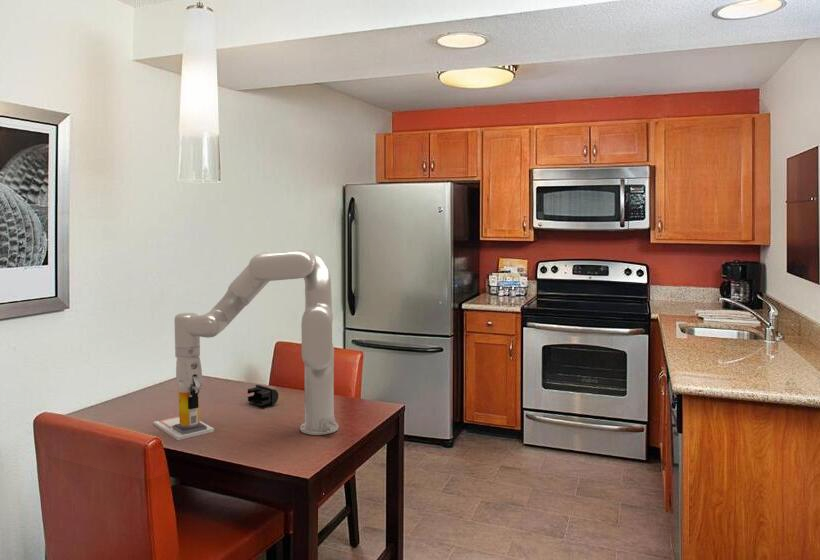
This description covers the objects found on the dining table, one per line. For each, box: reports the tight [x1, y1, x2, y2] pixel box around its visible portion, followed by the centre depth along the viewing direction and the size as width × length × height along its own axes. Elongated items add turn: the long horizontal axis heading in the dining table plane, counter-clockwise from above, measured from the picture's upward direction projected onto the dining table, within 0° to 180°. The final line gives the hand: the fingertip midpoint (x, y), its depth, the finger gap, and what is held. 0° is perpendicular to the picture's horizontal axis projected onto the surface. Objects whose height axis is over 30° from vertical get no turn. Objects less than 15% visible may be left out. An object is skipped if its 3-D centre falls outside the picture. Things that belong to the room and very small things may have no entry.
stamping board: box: [153, 416, 215, 441], centre depth 203 cm, size 20×12×2 cm, turn 43°
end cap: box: [247, 384, 279, 410], centre depth 230 cm, size 10×7×7 cm
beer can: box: [177, 381, 200, 427], centre depth 199 cm, size 6×6×15 cm
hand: (188, 405), depth 199 cm, fingers closed on beer can, 6 cm apart
